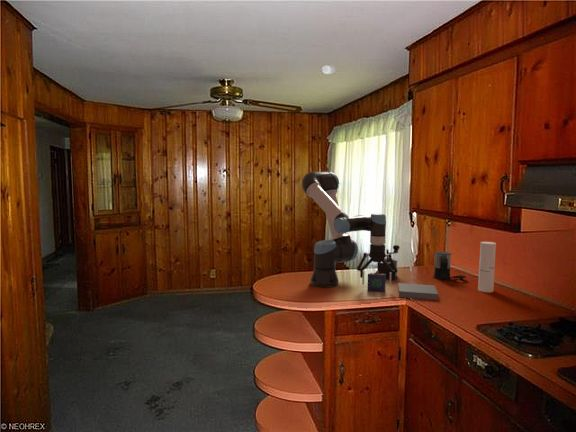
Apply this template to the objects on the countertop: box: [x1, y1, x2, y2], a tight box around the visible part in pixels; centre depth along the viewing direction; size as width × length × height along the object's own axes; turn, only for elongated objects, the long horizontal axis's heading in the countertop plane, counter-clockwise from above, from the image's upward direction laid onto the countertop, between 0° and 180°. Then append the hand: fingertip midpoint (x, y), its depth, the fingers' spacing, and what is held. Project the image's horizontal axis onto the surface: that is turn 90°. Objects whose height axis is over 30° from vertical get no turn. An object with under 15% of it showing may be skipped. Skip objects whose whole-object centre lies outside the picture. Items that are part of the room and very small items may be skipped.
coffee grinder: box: [376, 244, 401, 281], centre depth 237 cm, size 16×11×18 cm
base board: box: [397, 282, 439, 301], centre depth 203 cm, size 18×15×3 cm
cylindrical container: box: [477, 241, 497, 293], centre depth 208 cm, size 7×7×25 cm
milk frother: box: [433, 251, 467, 281], centre depth 232 cm, size 14×16×15 cm
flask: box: [367, 270, 387, 293], centre depth 207 cm, size 9×3×11 cm, turn 88°
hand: (376, 284), depth 208 cm, fingers open, 13 cm apart
